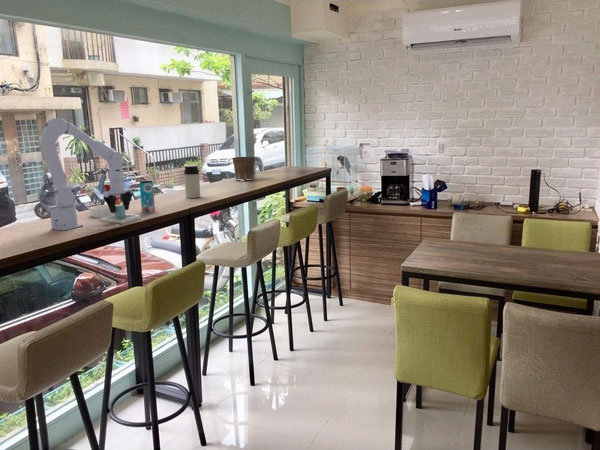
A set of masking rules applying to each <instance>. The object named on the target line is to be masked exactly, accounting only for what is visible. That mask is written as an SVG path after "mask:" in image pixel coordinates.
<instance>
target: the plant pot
mask: <svg viewBox="0 0 600 450" xmlns="http://www.w3.org/2000/svg"><path fill="white" fill-rule="evenodd" d="M231 159H232V164H233V168H234V176H235V180H236V179H243V180H246V179H253V180H254V173H255V172H254V171H255V170H254V169H255V162H256V160H255V159H256V157H255V156H238V157H237V156H236V157H231Z"/></svg>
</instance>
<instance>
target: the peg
mask: <svg viewBox="0 0 600 450" xmlns="http://www.w3.org/2000/svg"><path fill="white" fill-rule="evenodd" d="M115 209H116V211H115V218H114V219H116V220H122V219H126V218H127V217H126V215H125V214H126V210H125V205H123V204H120V205H116V206H115Z"/></svg>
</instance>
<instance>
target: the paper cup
mask: <svg viewBox="0 0 600 450" xmlns="http://www.w3.org/2000/svg"><path fill="white" fill-rule="evenodd" d="M103 186H104V192H107V191H110V190H111V188H110V180H105V181H104V182H103ZM116 194H117V193H116ZM114 197H116V203H115V204H116V205H121V196H120V194H119V195H114Z"/></svg>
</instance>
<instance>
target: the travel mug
mask: <svg viewBox="0 0 600 450" xmlns="http://www.w3.org/2000/svg"><path fill="white" fill-rule="evenodd" d="M183 166H184V171H183V173H184V174H183V176H184V187H185V189H184V190H185V198H187V199H197V198H196V197H199V198H200V197H201V187H200V186H201V183H200V170H199V169H198V166H199V164H184V165H183Z"/></svg>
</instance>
